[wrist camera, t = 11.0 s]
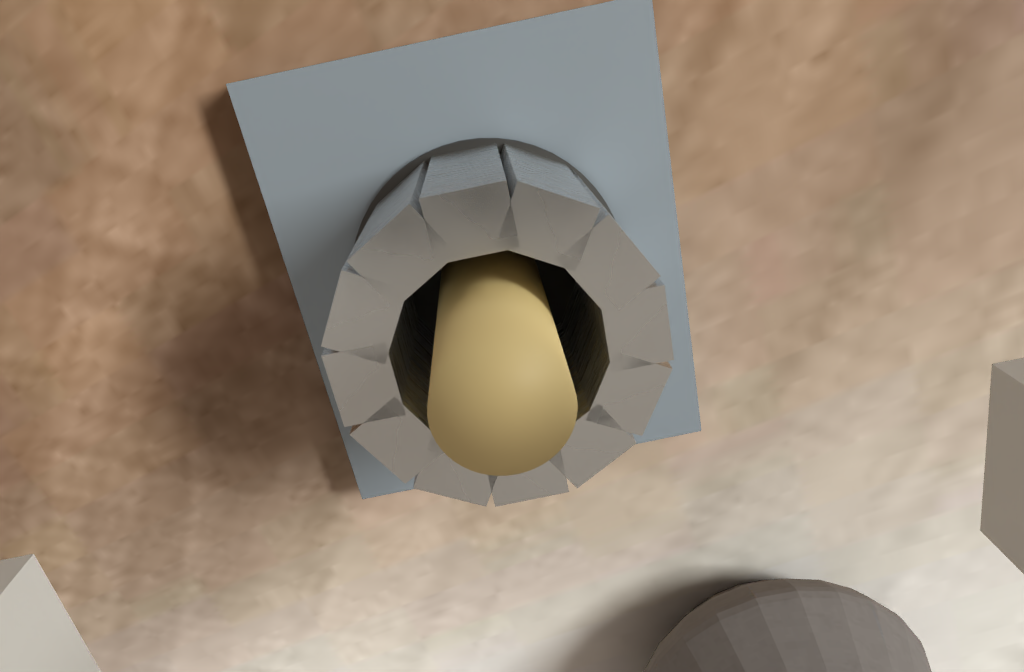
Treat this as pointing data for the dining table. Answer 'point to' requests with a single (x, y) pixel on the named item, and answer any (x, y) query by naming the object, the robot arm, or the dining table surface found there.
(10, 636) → the robot arm
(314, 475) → the dining table surface
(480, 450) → the square base plate
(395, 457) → the ring
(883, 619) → the coffee pot
